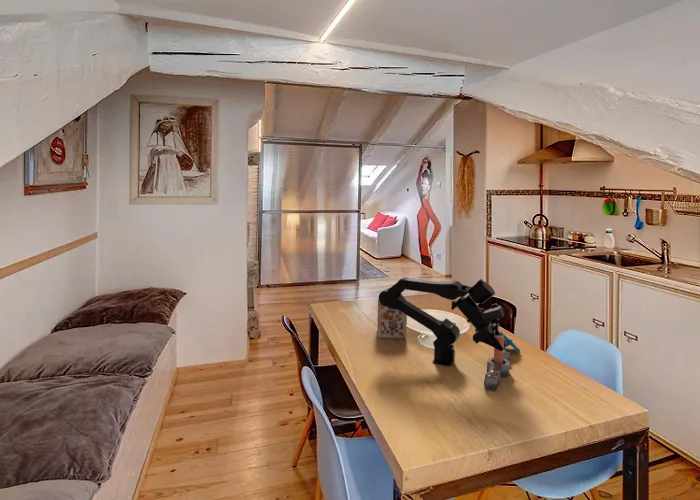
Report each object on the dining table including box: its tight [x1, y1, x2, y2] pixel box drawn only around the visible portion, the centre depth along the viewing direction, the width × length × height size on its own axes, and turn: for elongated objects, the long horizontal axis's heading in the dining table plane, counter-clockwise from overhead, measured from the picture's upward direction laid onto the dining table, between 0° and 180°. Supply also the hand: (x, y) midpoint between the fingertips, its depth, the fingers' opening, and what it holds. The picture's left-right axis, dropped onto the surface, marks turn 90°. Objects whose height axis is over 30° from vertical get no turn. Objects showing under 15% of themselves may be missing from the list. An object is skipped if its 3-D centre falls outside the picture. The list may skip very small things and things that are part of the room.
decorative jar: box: [377, 298, 408, 339], centre depth 182 cm, size 12×12×18 cm
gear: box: [499, 331, 521, 353], centre depth 165 cm, size 11×6×10 cm
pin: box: [493, 335, 504, 364], centre depth 145 cm, size 3×3×13 cm
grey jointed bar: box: [483, 350, 511, 392], centre depth 145 cm, size 7×30×4 cm, turn 152°
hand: (503, 348), depth 144 cm, fingers open, 4 cm apart
